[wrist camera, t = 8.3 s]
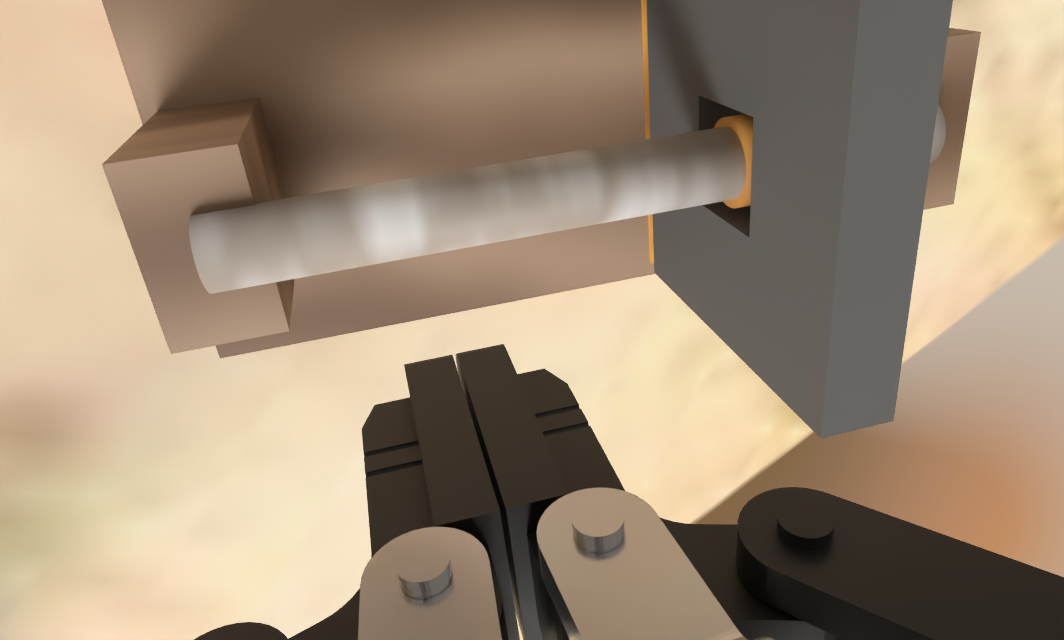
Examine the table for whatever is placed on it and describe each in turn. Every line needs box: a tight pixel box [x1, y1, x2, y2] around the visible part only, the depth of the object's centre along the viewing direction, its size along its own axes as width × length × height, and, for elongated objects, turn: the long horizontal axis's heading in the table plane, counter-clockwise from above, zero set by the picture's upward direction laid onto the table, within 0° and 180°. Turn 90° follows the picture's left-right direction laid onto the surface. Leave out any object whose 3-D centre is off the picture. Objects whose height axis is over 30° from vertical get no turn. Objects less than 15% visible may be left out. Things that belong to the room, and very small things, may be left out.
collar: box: [647, 0, 953, 438], centre depth 21 cm, size 11×2×11 cm, turn 5°
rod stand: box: [102, 0, 981, 358], centre depth 23 cm, size 12×24×9 cm, turn 95°
